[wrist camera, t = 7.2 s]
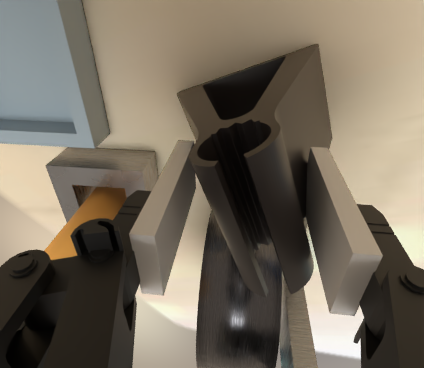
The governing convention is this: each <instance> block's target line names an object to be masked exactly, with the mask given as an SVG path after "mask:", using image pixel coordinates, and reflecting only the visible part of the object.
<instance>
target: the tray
mask: <svg viewBox="0 0 424 368" xmlns="http://www.w3.org/2000/svg"><path fill="white" fill-rule="evenodd" d="M109 134H110V130H109V126H108V121H107V116H106V112H105V107H104V102H103V98H102V93H101V89H100V84H99V79H98V75H97V70H96V65H95V61H94V56H93V51H92V47H91V42H90V37H89V33H88V28H87V24H86V19H85V14H84V10H83V5H82V0H0V143H4V144H22V145H41V146H59V147H77V148H96V147H97V146H98V145H99V144H100V143H101V142H102V141H103V140H104V139H105V138H106V137H107V136H108V135H109Z"/></svg>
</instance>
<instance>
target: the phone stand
mask: <svg viewBox="0 0 424 368" xmlns="http://www.w3.org/2000/svg"><path fill="white" fill-rule="evenodd" d="M177 96H178V98H179V100H180V103H181V105H182V108H183V110H184V113H185V115H186V117H187V120H188V122H189V125H190V127H191V129H192V132H193V134H194V137H195V139H196V143H195V145H194V146H193V148H192V149H191V151H190V153H189V159H190V161H191V164H192V166H193V168H194V170H195V173H196V175H197V177H198V179H199V182H200V184H201V186H202V189H203V191H204V193H205V195H206V198H207V200H208V202H209V204H210V207H211V209H212V211H213V213H214V216H215V218H216V220H217V222H218V225H219V227H220V229H221V231H222V234H223V236H224V238H225V240H226V243H227V245H228V247H229V249H230V252H231V254H232V256H233V258H234V261H235V263H236V265H237V267H238V270H239V272H240V274H241V276H242V279H243V281H244V283H245V285H246V286H247V287H248V288H249V289H250V290H251V291H252V292H254V293H255V294H257V295H260V296H263V297H267V294H268V289H267V286H266V283H265V281H264V278H263V276H262V273H261V270H260V268H259V265H258V263H257V260H256V258H255V255H254V254H255V250H259V249H260V246H261V244H265V245H270V243H271V242H273V245H274V248H275V251H276V254H277V257H278V260H279V263H280V266H281V269H282V272H283V275H284V278H285V281H286V284H287V287H288V290H289V292H290V294H294V293H296V292H297V291H299V290H300V289H301V288H303V287H304V286H305V285H306V284H307V282H308V281H309V279H310V278H311V276H312V273H313V267H314V264H313V258H312V254H311V250H310V246H309V242H308V238H307V234H306V228H307V224H308V223H307V219H306V193H307V162H308V157H309V153H310V148H311V147H322V148H328V149H329V147H330V144H331V140H332V133H331V126H330V119H329V112H328V106H327V99H326V92H325V86H324V79H323V72H322V65H321V59H320V52H319V45H318V44H316V45H312V46H309V47H306V48H303V49H300V50H298V51H295V52H292V53H289V54H286V55H283V56H280V57H277V58H275V59H272V60H269V61H266V62H263V63H260V64H257V65H255V66H252V67H249V68H246V69H244V70H242V71H237V72H235V73H232V74H229V75H226V76H223V77H220V78H217V79H214V80H212V81H209V82H206V83H203V84H200V85H197V86H194V87H192V88H189V89H186V90H183V91H180V92H179V93H177Z"/></svg>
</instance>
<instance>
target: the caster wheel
mask: <svg viewBox="0 0 424 368" xmlns="http://www.w3.org/2000/svg"><path fill="white" fill-rule="evenodd" d="M254 255H255V258H256V260H257V263H258V265H259V268H260V270H261V273H262V276H263V278H264V281H265V283H266V286H267V289H268V294H267V297H263V296H260V295H257V294H255V293H254V292H252V291H251V290H250V289H249V288H248V287H247V286H246V285H245V283H244V281H243V279H242V276H241V274H240V272H239V270H238V267H237V265H236V263H235V261H234V258H233V256H232V254H231V252H230V249H229V247H228V245H227V243H226V240H225V238H224V236H223V234H222V231H221V229H220V227H219V225H218V222H217V220H216V218H215V216H214V213H213V211H212V210H211V214H210V218H209V222H208V228H207V233H206V240H205V246H204V254H203V262H202V270H201V279H200V290H199V301H198V315H197V336H196V361H197V368H275V367H276V361H277V354H278V347H279V343H280V355H281V368H318V366H317V361H316V355H315V349H314V344H313V338H312V332H311V327H310V321H309V315H308V309H307V304H306V298H305V292H304V287H303V288H301V289H300V290H299V291H297V292H296V293H294V294H290V292H289V290H288V287H287V284H286V281H285V278H284V275H283V272H282V269H281V266H280V263H279V260H278V257H277V254H276V251H275V248H274V245H273V242H271V243H270V245H265V244H261V246H260V249H259V250H255V254H254Z"/></svg>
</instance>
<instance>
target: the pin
mask: <svg viewBox="0 0 424 368" xmlns="http://www.w3.org/2000/svg"><path fill="white" fill-rule="evenodd" d="M126 199H127V197H126V192H125V188H111V187H96V188H95V189H94V191H93V192H92V193H91V194H90V196H89V197H88V198H87V199H86V200H85V202H84V203H83V204H82V205H81V207H80V208H79V209H78V210H77V211H76V213H75V214H74V215H73V216H72V218H71V219H70V220H69V221H68V222H67V224H66V225H65V226H64V227H63V229H62V230H61V231H60V232H59V233H58V235H57V236H56V237H55V238H54V240H53V241H52V242H51V243H50V245H49V246H48V247H47V248H46V249H45V252H46V253H47V254H48V255H49V257H50V259H51V260H55V259H61V258H67V257H73V256H77V253H76V250H75V247H74V245H73V242H72V239H71V237H70V235H71V234H72V232H73V231H74V229H76V228H77V227H78V226H79V225H81V224H82V223H85V222H87V221H89V220H93V219H98V218H108V219H110V220H113V219H114V218H115V216H116V215H117V214H118V211H119V210H120V208H121V207H122V205H123V204H124V202H125V200H126Z"/></svg>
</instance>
